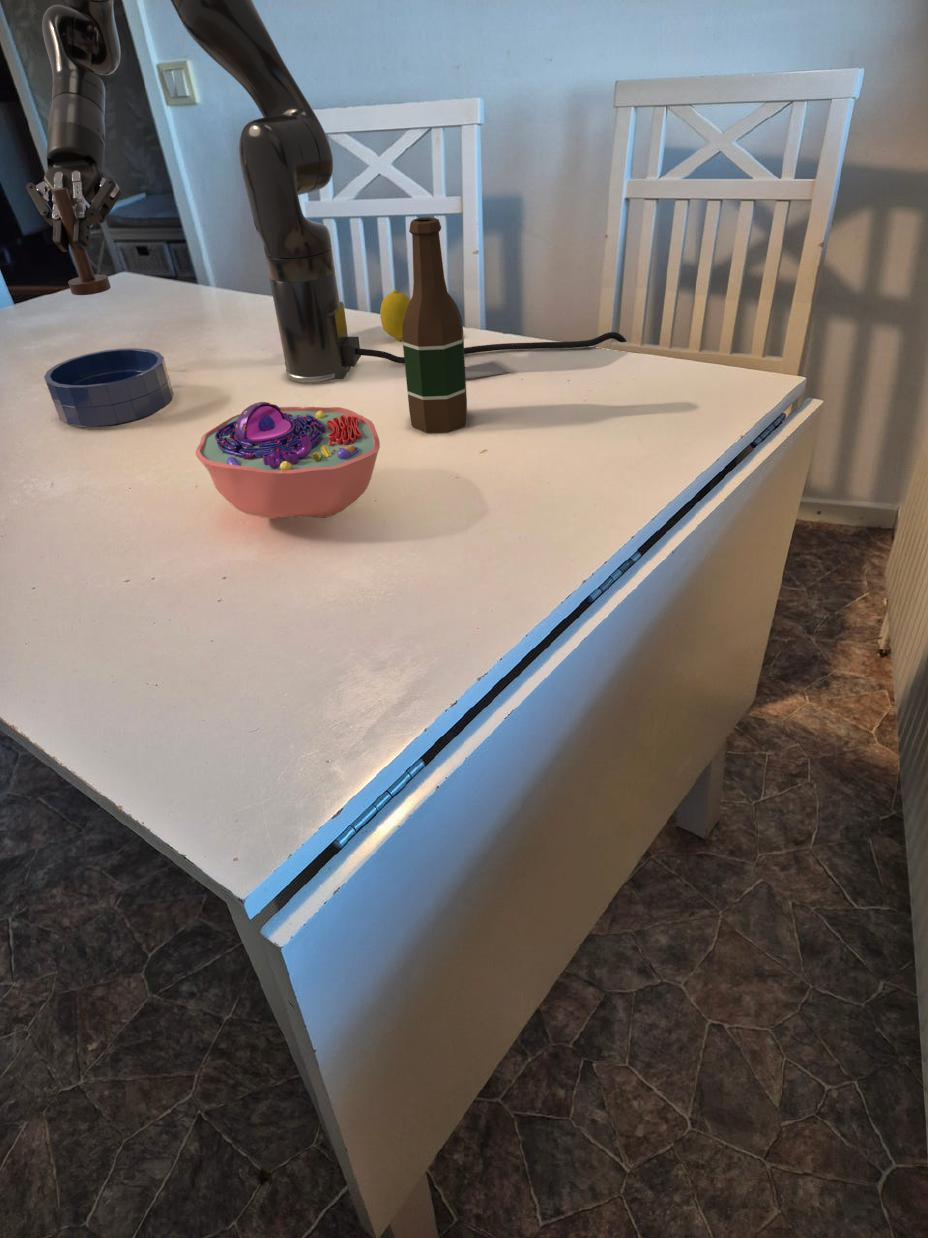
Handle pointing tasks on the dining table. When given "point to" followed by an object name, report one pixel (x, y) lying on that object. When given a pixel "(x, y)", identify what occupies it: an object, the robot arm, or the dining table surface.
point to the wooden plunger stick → (78, 251)
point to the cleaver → (483, 370)
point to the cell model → (291, 459)
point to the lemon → (394, 313)
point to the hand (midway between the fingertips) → (71, 247)
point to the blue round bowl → (110, 387)
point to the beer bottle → (433, 339)
